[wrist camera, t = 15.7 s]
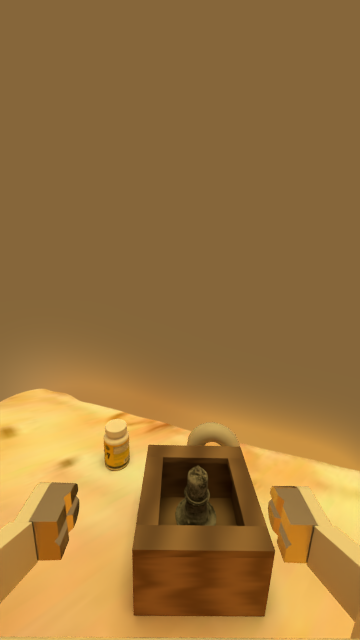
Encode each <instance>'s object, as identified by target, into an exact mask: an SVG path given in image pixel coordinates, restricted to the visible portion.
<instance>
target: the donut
mask: <svg viewBox="0 0 360 640" xmlns="http://www.w3.org/2000/svg"><path fill="white" fill-rule="evenodd" d="M208 442H216V443H218V444H220V445H221V446H232V447H240V445H239V441H238V439H237V437H236V435H235V434H234V433H233V432H232V431H231V430H230V429H229V428H227V427H226V426H224V425H222V424H218V423H215V422H213V423H204V424H201V425H199V426H198V427H196V428H195V429H193V431H192V432H191V434H190V435H189V438H188V442H187V446H205V444H206V443H208Z"/></svg>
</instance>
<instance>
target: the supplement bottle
mask: <svg viewBox="0 0 360 640" xmlns="http://www.w3.org/2000/svg"><path fill="white" fill-rule="evenodd" d="M104 451H105V464H106V466H107V468H108V469H110V470H120V469H122V468H124V467H125V466H126V465H127V464H128V462H129V433H128V431H127V424H126V422H125V421H124V420H122V419H114V420H111V421H109V422H108V423H107V424H106V426H105V435H104Z"/></svg>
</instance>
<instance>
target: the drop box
mask: <svg viewBox="0 0 360 640" xmlns="http://www.w3.org/2000/svg"><path fill="white" fill-rule="evenodd" d="M198 465H199V466H200V467H201V468H203V469H204V470H205V471H206V472H207V475H208V490H209V493H210V498H209V501H208V502H210V504H211V505H212V506H213V508H214V510H215V512H216V525H215V526H195V525H177V522H176V519H175V512H176V508H177V506H178V504H179V503H180V502H181V501H182V500H183V499H185V496H184V490H185V488H186V486H187V478H188V472H189V471H190V470H191V469H192V468H193V467H197V466H198ZM132 554H133V601H134V615H156V616H265V610H266V604H267V598H268V591H269V585H270V579H271V573H272V567H273V561H274V554H275V550H274V547H273V544H272V541H271V538H270V535H269V532H268V529H267V526H266V523H265V520H264V517H263V514H262V511H261V508H260V505H259V502H258V499H257V496H256V493H255V490H254V487H253V484H252V481H251V478H250V475H249V472H248V469H247V466H246V463H245V460H244V457H243V454H242V451H241V448H240V447H232V446H176V445H148V452H147V458H146V465H145V471H144V478H143V484H142V491H141V497H140V504H139V510H138V517H137V523H136V530H135V536H134V543H133V549H132Z"/></svg>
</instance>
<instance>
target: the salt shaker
mask: <svg viewBox="0 0 360 640" xmlns="http://www.w3.org/2000/svg"><path fill="white" fill-rule="evenodd" d="M184 496H185V499H183V500H182V501H181V502H180V503H179V504H178V506H177V508H176V512H175V519H176V522H177V525H195V526H215V525H216V512H215V510H214V508H213V506H212V505H211V504H210V502H208V501H209V498H210V493H209V490H208V475H207V472H206V471H205V470H204V469H203V468H201V467H200V466H199V465H198V466H197V467H193V468H192V469H191V470H190V471H189V472H188V478H187V486H186V488H185V490H184Z"/></svg>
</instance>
